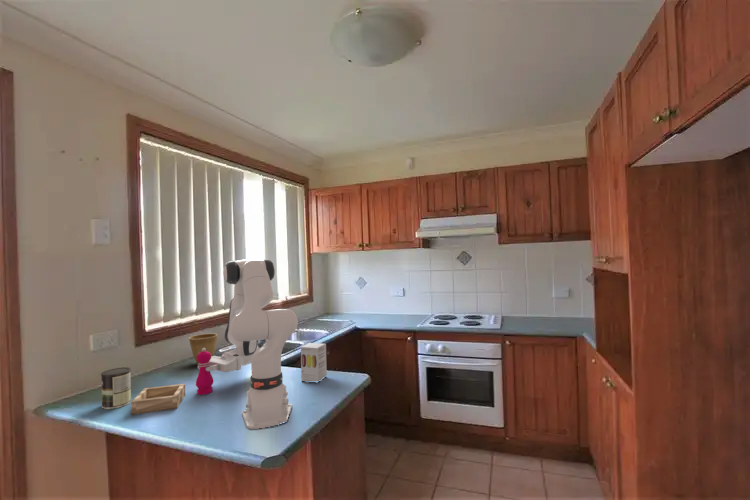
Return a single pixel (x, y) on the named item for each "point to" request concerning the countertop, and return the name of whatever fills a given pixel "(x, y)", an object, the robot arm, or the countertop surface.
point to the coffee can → (116, 388)
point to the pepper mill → (204, 373)
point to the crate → (158, 399)
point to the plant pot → (203, 344)
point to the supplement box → (313, 362)
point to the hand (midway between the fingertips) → (202, 368)
